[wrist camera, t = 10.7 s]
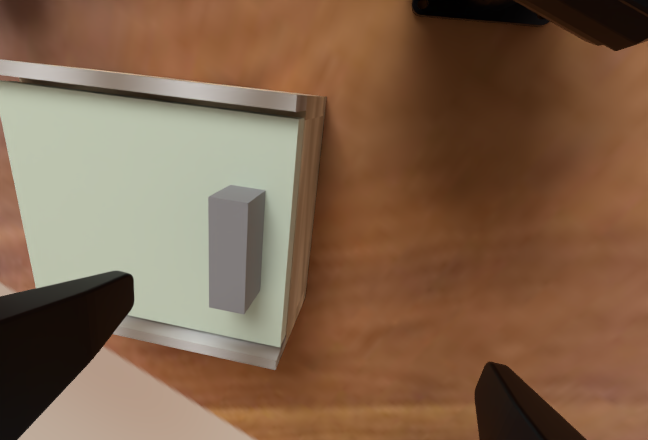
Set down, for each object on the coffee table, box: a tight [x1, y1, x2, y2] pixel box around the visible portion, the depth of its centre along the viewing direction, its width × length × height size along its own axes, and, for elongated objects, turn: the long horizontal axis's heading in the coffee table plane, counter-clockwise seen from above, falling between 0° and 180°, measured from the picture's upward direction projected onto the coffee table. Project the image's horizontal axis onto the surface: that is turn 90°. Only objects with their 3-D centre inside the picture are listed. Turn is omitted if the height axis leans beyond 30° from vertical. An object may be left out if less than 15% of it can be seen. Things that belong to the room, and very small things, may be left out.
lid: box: [0, 81, 304, 347], centre depth 16 cm, size 14×11×3 cm
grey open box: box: [0, 59, 327, 370], centre depth 19 cm, size 14×13×7 cm
